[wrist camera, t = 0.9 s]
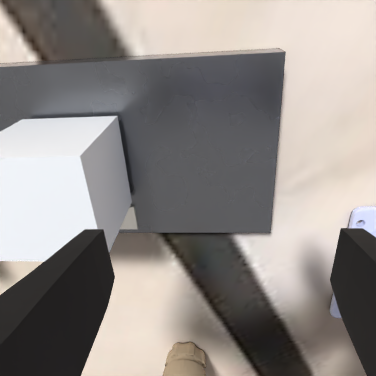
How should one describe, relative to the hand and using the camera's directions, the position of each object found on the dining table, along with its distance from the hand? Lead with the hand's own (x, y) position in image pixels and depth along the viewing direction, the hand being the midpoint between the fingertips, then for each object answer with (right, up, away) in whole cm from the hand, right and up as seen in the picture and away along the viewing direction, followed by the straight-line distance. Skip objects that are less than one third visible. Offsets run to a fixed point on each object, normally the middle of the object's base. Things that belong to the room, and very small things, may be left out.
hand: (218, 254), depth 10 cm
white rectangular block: (-7, +2, +8) cm, 11 cm away
